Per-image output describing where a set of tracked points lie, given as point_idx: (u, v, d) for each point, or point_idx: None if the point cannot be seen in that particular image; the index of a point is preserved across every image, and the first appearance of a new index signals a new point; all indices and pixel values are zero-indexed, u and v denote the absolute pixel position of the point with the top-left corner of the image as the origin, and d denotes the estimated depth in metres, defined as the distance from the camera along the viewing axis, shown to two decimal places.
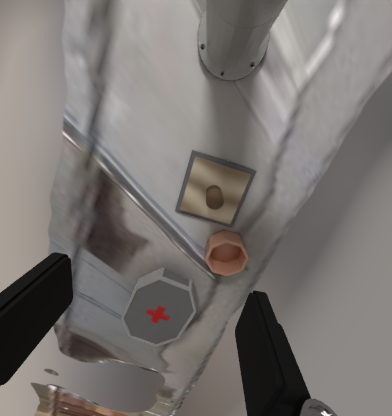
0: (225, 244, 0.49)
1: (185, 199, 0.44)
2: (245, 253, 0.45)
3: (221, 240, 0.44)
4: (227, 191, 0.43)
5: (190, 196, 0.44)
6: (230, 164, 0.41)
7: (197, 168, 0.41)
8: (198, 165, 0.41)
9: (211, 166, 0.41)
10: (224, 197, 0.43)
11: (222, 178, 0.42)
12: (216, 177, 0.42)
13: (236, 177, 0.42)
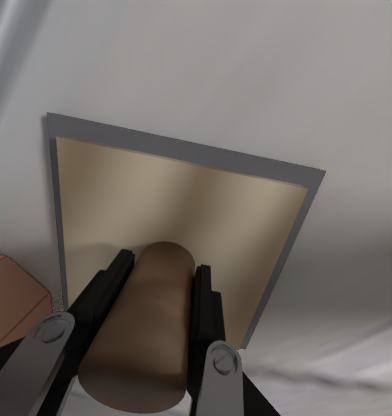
0: None
1: (113, 160, 0.10)
2: None
3: None
4: None
5: (132, 183, 0.10)
6: (265, 294, 0.13)
7: (258, 202, 0.10)
8: (270, 205, 0.10)
9: (265, 250, 0.11)
10: None
11: (222, 286, 0.12)
12: (224, 269, 0.12)
13: (228, 320, 0.13)
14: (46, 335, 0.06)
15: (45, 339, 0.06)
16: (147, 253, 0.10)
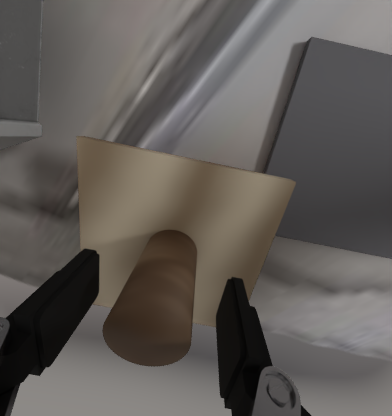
0: None
1: (125, 157, 0.11)
2: None
3: None
4: None
5: (142, 177, 0.11)
6: None
7: (252, 194, 0.11)
8: (263, 196, 0.11)
9: (259, 237, 0.12)
10: None
11: (221, 270, 0.13)
12: (223, 255, 0.13)
13: None
14: None
15: None
16: (155, 239, 0.12)
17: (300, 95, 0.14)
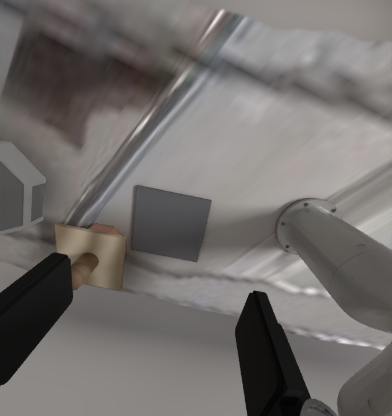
0: None
1: (70, 230, 0.35)
2: None
3: None
4: (96, 272, 0.38)
5: (76, 236, 0.35)
6: (200, 239, 0.40)
7: (111, 241, 0.35)
8: (115, 242, 0.35)
9: (118, 255, 0.36)
10: None
11: (108, 266, 0.37)
12: (107, 261, 0.37)
13: (113, 278, 0.38)
14: None
15: None
16: (81, 256, 0.36)
17: (138, 202, 0.38)
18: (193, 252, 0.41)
